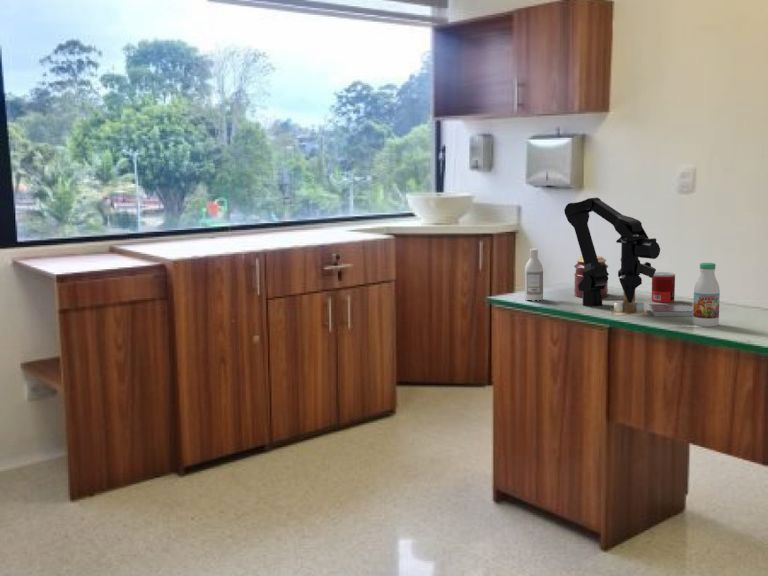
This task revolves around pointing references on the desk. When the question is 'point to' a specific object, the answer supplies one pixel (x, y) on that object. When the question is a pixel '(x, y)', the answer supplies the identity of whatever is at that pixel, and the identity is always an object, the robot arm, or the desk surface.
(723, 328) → the desk surface
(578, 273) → the canister
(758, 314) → the desk surface
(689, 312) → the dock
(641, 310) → the grey-green round cylinder
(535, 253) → the bath foam
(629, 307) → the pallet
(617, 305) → the white short cylinder
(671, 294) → the canned food
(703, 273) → the milk bottle
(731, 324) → the desk surface
